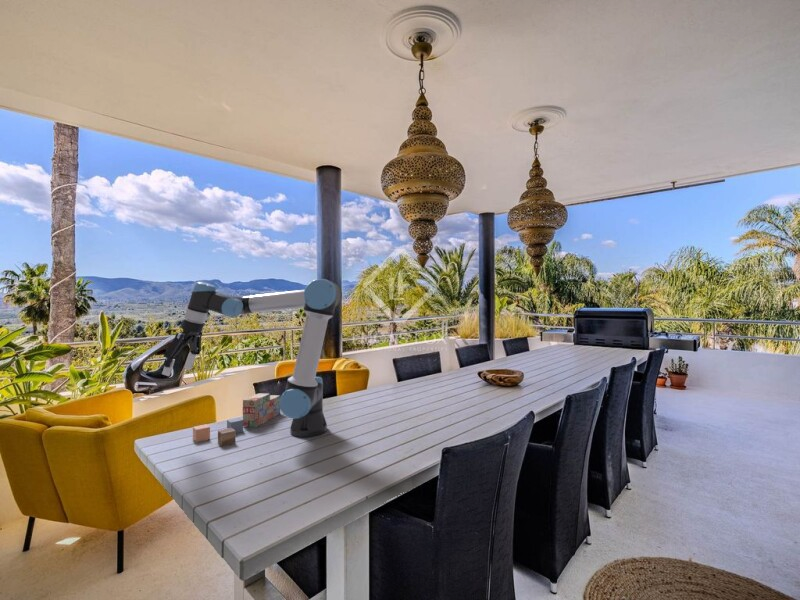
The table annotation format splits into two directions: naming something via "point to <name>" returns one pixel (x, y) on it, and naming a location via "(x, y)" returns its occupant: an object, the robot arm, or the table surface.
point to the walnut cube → (226, 437)
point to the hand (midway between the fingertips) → (177, 371)
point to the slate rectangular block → (235, 424)
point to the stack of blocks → (260, 409)
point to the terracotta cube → (201, 432)
